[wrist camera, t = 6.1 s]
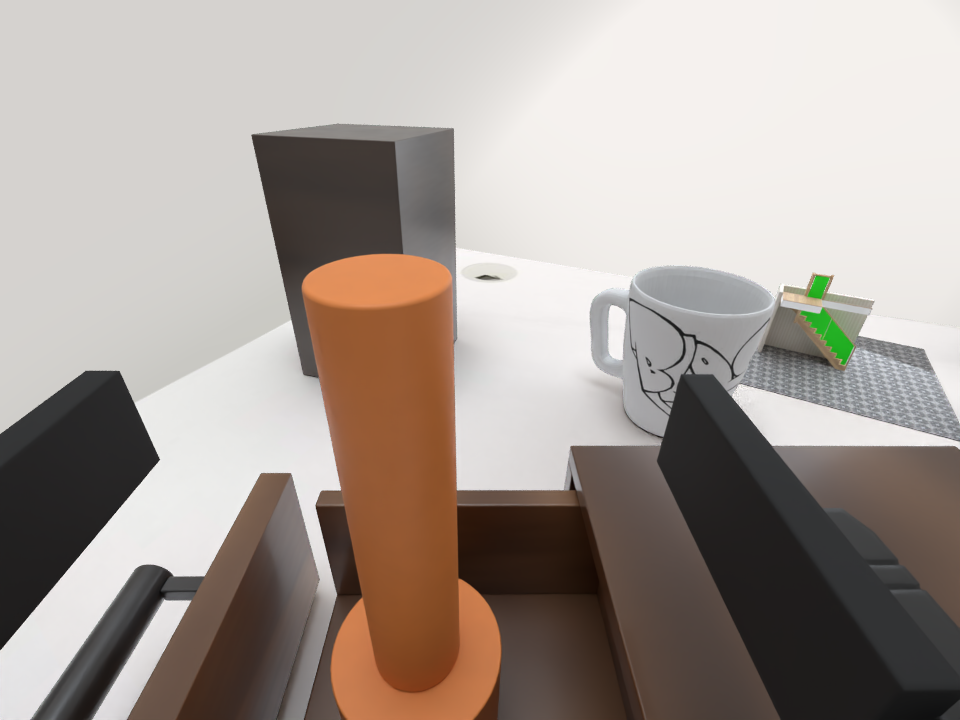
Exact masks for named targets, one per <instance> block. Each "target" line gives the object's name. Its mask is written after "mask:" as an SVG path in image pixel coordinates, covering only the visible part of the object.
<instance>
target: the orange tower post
mask: <svg viewBox="0 0 960 720" xmlns="http://www.w3.org/2000/svg"><path fill="white" fill-rule="evenodd" d="M302 295H303V300H304V305H305V310H306V315H307V320H308V325H309V330H310V335H311V340H312V345H313V350H314V355H315V360H316V365H317V370H318V375H319V380H320V385H321V390H322V395H323V400H324V405H325V411H326V416H327V421H328V426H329V431H330V436H331V441H332V446H333V451H334V456H335V461H336V466H337V471H338V476H339V481H340V486H341V491H342V496H343V501H344V506H345V511H346V516H347V521H348V527H349V532H350V537H351V542H352V547H353V552H354V557H355V562H356V567H357V572H358V577H359V582H360V587H361V592H362V598H361V599H360V600H359V601H358V602H357V603H356V604H355V606H354V607H353V608H352V610H351V611H350V612H349V614H348V615H347V617H346V618H345V620H344V622H343V623H342V626H341V628H340V630H339V632H338V634H337V637H336V640H335V643H334V647H333V651H332V656H331V668H330V672H331V684H332V690H333V694H334V698H335V701H336V704H337V707H338V711H339V714H340V717H341V720H497V718H498V703H499V688H500V673H501V657H502V645H501V636H500V631H499V627H498V624H497V621H496V618H495V616H494V614H493V612H492V610H491V608H490V606H489V605H488V603H487V602H486V601H485V599H484V598H483V597H482V596H481V595H480V594H479V592H478V591H477V590H475V589H474V588H473V587H472V586H471V585H469V584H468V583H466V582H465V581H463V580H461V579H459V578H458V536H457V486H456V436H455V386H454V336H453V286H452V276H451V273H450V271H449V270H448V269H447V268H446V267H445V266H444V265H442V264H440V263H438V262H436V261H433V260H430V259H427V258H423V257H418V256H412V255H403V254H372V255H362V256H355V257H350V258H345V259H341V260H337V261H334V262H331V263H328V264H325V265H323V266H321V267H319V268H317V269H315V270H313V271H312V272H310V273H309V274H308V275H307V276H306V277H305V279H304V280H303V283H302Z"/></svg>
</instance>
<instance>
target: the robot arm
mask: <svg viewBox="0 0 960 720" xmlns="http://www.w3.org/2000/svg"><path fill="white" fill-rule="evenodd" d="M159 460H160V459H159V457H158V454H157V452H156V450H155V448H154V446H153V443H152V441H151V439H150V437H149V435H148V432H147V430H146V428H145V426H144V424H143V422H142V419H141V417H140V415H139V413H138V411H137V408H136V406H135V404H134V402H133V400H132V397H131V395H130V393H129V391H128V389H127V386H126V384H125V382H124V380H123V378H122V376H121V374H120V371H85V372H84V373H83V374H81V375H80V376H78V377H77V378H76V379H74V380H73V381H72V382H70V383H69V384H67V385H66V386H65V387H63V388H62V389H61V390H59V391H58V392H57V393H55V394H54V395H53V396H51V397H50V398H49V399H47V400H46V401H44V402H43V403H42V404H40V405H39V406H38V407H36V408H35V409H34V410H32V411H31V412H30V413H28V414H27V415H26V416H24V417H23V418H21V419H20V420H19V421H18V422H16V423H15V424H13V425H12V426H11V427H9V428H8V429H7V430H5V431H4V432H2V433H1V434H0V650H1V649H2V648H3V647H4V645H5V644H6V643H7V642H8V641H9V639H10V638H11V637H12V636H13V635H14V633H15V632H16V631H17V630H18V629H19V627H20V626H21V625H22V624H23V623H24V621H25V620H26V619H27V618H28V617H29V615H30V614H31V613H32V612H33V611H34V610H35V608H36V607H37V606H38V605H39V604H40V602H41V601H42V600H43V599H44V598H45V596H46V595H47V594H48V593H49V592H50V590H51V589H52V588H53V587H54V586H55V584H56V583H57V582H58V581H59V580H60V578H61V577H62V576H63V575H64V574H65V573H66V571H67V570H68V569H69V568H70V567H71V565H72V564H73V563H74V562H75V561H76V559H77V558H78V557H79V556H80V555H81V553H82V552H83V551H84V550H85V549H86V547H87V546H88V545H89V544H90V543H91V541H92V540H93V539H94V538H95V537H96V535H97V534H98V533H99V532H100V531H101V530H102V528H103V527H104V526H105V525H106V524H107V522H108V521H109V520H110V519H111V518H112V516H113V515H114V514H115V513H116V512H117V510H118V509H119V508H120V507H121V506H122V504H123V503H124V502H125V501H126V500H127V498H128V497H129V496H130V495H131V494H132V493H133V491H134V490H135V489H136V488H137V487H138V485H139V484H140V483H141V482H142V481H143V479H144V478H145V477H146V476H147V475H148V473H149V472H150V471H151V470H152V469H153V467H154V466H155V465H156V464H157V463H158V461H159ZM657 463H658V465H659V467H660V469H661V471H662V473H663V476H664V478H665V480H666V482H667V484H668V486H669V488H670V490H671V492H672V494H673V496H674V498H675V501H676V503H677V505H678V507H679V509H680V511H681V513H682V515H683V517H684V519H685V521H686V523H687V526H688V528H689V530H690V532H691V534H692V536H693V538H694V540H695V542H696V544H697V546H698V548H699V551H700V553H701V555H702V557H703V559H704V561H705V563H706V565H707V567H708V569H709V571H710V574H711V576H712V578H713V580H714V582H715V584H716V586H717V588H718V590H719V592H720V594H721V596H722V599H723V601H724V603H725V605H726V607H727V609H728V611H729V613H730V615H731V617H732V619H733V621H734V624H735V626H736V628H737V630H738V632H739V634H740V636H741V638H742V640H743V642H744V644H745V646H746V649H747V651H748V653H749V655H750V657H751V659H752V661H753V663H754V665H755V667H756V669H757V671H758V674H759V676H760V678H761V680H762V682H763V684H764V686H765V688H766V690H767V692H768V694H769V697H770V699H771V701H772V703H773V705H774V707H775V709H776V711H777V713H778V715H779V717H780V719H781V720H960V628H959V627H958V626H957V625H956V623H955V622H954V621H953V620H952V619H951V618H950V617H949V616H948V614H947V613H946V612H945V611H944V610H943V609H942V608H941V607H940V605H939V604H938V603H937V602H936V601H935V600H934V599H933V598H932V596H931V595H930V594H929V593H928V592H927V591H926V590H922V589H921V588H920V583H919V582H918V581H917V580H916V578H915V577H914V576H913V575H912V574H911V573H910V572H909V571H908V569H907V568H906V567H905V566H904V565H900V564H899V562H898V560H899V559H898V558H897V557H896V556H895V555H894V554H893V553H892V551H891V550H890V549H889V548H888V547H887V546H886V545H885V544H884V542H883V541H882V540H881V539H880V538H879V537H878V536H877V535H876V533H875V532H874V531H872V530H871V529H870V528H868V527H867V526H866V525H864V524H863V523H861V522H860V521H859V520H857V519H856V518H855V517H853V516H852V515H851V514H849V513H848V512H846V511H845V510H844V509H842V508H822V507H821V506H820V505H819V503H818V502H817V501H816V500H815V498H814V497H813V496H812V495H811V494H810V492H809V491H808V490H807V489H806V487H805V486H804V485H803V484H802V483H801V481H800V480H799V479H798V478H797V476H796V475H795V474H794V473H793V472H792V470H791V469H790V468H789V467H788V465H787V464H786V463H785V462H784V461H783V459H782V458H781V457H780V456H779V454H778V453H777V452H776V451H775V450H774V448H773V447H772V446H771V445H770V443H769V442H768V441H767V440H766V438H765V437H764V436H763V435H762V434H761V432H760V431H759V430H758V429H757V427H756V426H755V425H754V424H753V423H752V421H751V420H750V419H749V418H748V416H747V415H746V414H745V413H744V412H743V410H742V409H741V408H740V407H739V405H738V404H737V403H736V402H735V401H734V399H733V398H732V397H731V396H730V394H729V393H728V392H727V391H726V390H725V388H724V387H723V386H722V385H721V383H720V382H719V381H718V380H717V379H716V377H715V376H714V375H713V374H681V376H680V379H679V383H678V386H677V390H676V394H675V397H674V401H673V404H672V408H671V411H670V415H669V419H668V422H667V426H666V429H665V433H664V437H663V440H662V444H661V447H660V451H659V455H658V458H657Z"/></svg>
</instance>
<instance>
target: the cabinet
mask: <svg viewBox="0 0 960 720" xmlns="http://www.w3.org/2000/svg"><path fill="white" fill-rule="evenodd" d="M660 447H661V446H571V447H570V453H569V461H568V466H567V473H566V480H565V486H564V490H576V492H577V496H578V500H579V504H580V508H581V512H582V516H583V520H584V523H585V527H586V531H587V535H588V539H589V543H590V547H591V551H592V555H593V559H594V563H595V567H596V571H597V575H598V579H599V583H600V587H601V591H602V595H603V599H604V603H605V607H606V611H607V614H608V618H609V622H610V626H611V630H612V634H613V638H614V642H615V646H616V650H617V654H618V658H619V662H620V666H621V670H622V674H623V678H624V682H625V686H626V690H627V694H628V698H629V701H630V705H631V709H632V713H633V717H634V720H781V719H780V717H779V715H778V713H777V711H776V709H775V707H774V705H773V703H772V701H771V699H770V697H769V694H768V692H767V690H766V688H765V686H764V684H763V682H762V680H761V678H760V676H759V674H758V671H757V669H756V667H755V665H754V663H753V661H752V659H751V657H750V655H749V653H748V651H747V649H746V646H745V644H744V642H743V640H742V638H741V636H740V634H739V632H738V630H737V628H736V626H735V624H734V621H733V619H732V617H731V615H730V613H729V611H728V609H727V607H726V605H725V603H724V601H723V599H722V596H721V594H720V592H719V590H718V588H717V586H716V584H715V582H714V580H713V578H712V576H711V574H710V571H709V569H708V567H707V565H706V563H705V561H704V559H703V557H702V555H701V553H700V551H699V548H698V546H697V544H696V542H695V540H694V538H693V536H692V534H691V532H690V530H689V528H688V526H687V523H686V521H685V519H684V517H683V515H682V513H681V511H680V509H679V507H678V505H677V503H676V501H675V498H674V496H673V494H672V492H671V490H670V488H669V486H668V484H667V482H666V480H665V478H664V476H663V473H662V471H661V469H660V467H659V465H658V463H657V458H658V455H659V451H660ZM772 447H773V448H774V450H775V451H776V452H777V453H778V454H779V456H780V457H781V458H782V459H783V461H784V462H785V463H786V464H787V465H788V467H789V468H790V469H791V470H792V472H793V473H794V474H795V475H796V476H797V478H798V479H799V480H800V481H801V483H802V484H803V485H804V486H805V487H806V489H807V490H808V491H809V492H810V494H811V495H812V496H813V497H814V498H815V500H816V501H817V502H818V503H819V505H820V506H821V507H822V508H842V509H844V510H845V511H846V512H848V513H849V514H851V515H852V516H853V517H855V518H856V519H857V520H859V521H860V522H861V523H863V524H864V525H866V526H867V527H868V528H870V529H871V530H872V531H874V532H875V533H876V535H877V536H878V537H879V538H880V539H881V540H882V541H883V542H884V544H885V545H886V546H887V547H888V548H889V549H890V550H891V551H892V553H893V554H894V555H895V556H896V557H897V558H898V559H899V560H898V562H899V564H900V565H904V566H905V567H906V568H907V569H908V571H909V572H910V573H911V574H912V575H913V576H914V577H915V578H916V580H917V581H918V582H919V583H920V588H921V589H922V590H926V591H927V592H928V593H929V594H930V595H931V596H932V598H933V599H934V600H935V601H936V602H937V603H938V604H939V605H940V607H941V608H942V609H943V610H944V611H945V612H946V613H947V614H948V616H949V617H950V618H951V619H952V620H953V621H954V622H955V623H956V625H957V626H958V627H959V628H960V450H959V449H958V448H957V447H955V446H772Z"/></svg>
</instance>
